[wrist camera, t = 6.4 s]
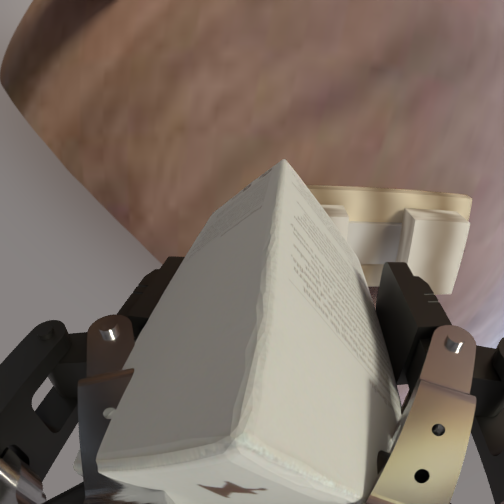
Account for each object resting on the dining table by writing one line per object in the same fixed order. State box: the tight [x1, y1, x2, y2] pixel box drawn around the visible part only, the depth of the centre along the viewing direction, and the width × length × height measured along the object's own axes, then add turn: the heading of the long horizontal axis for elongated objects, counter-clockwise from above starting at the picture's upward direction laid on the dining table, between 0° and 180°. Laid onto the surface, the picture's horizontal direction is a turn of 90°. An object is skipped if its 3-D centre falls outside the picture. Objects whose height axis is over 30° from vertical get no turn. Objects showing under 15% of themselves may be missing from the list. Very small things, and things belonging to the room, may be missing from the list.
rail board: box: [306, 185, 472, 295], centre depth 33 cm, size 26×12×6 cm, turn 92°
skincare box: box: [73, 159, 402, 504], centre depth 9 cm, size 6×4×12 cm
